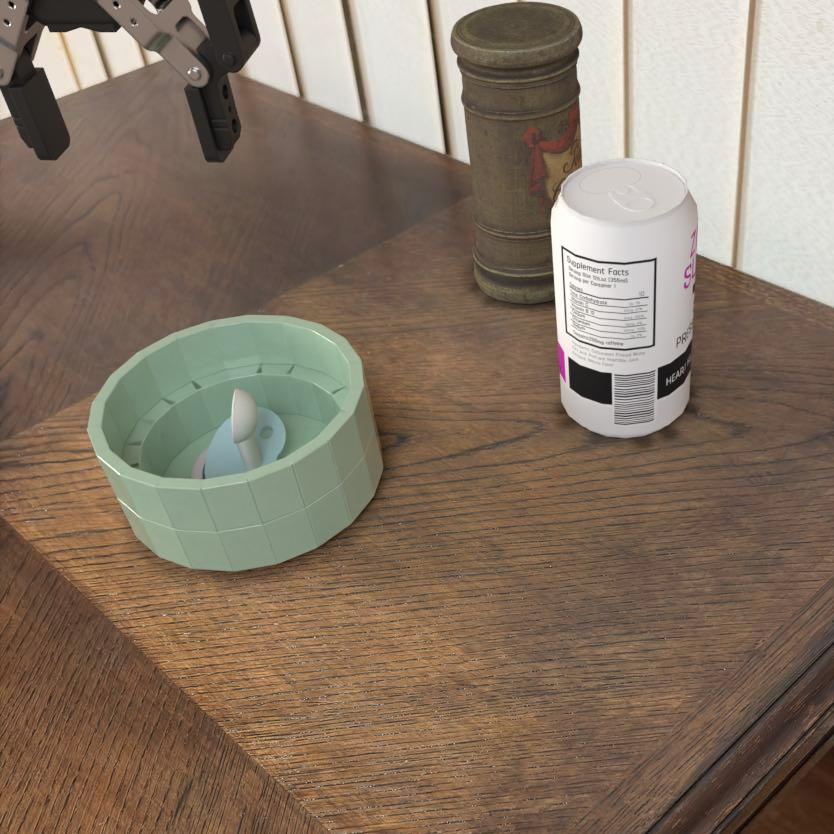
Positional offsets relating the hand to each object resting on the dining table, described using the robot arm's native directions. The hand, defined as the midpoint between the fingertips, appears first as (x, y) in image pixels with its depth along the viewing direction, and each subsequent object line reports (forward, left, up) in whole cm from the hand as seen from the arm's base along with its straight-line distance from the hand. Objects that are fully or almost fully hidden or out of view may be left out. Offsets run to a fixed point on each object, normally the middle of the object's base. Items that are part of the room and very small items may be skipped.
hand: (137, 154), depth 52 cm
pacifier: (0, -1, -21) cm, 21 cm away
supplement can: (+23, +8, -21) cm, 32 cm away
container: (+15, +23, -21) cm, 35 cm away
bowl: (+1, -1, -21) cm, 21 cm away
